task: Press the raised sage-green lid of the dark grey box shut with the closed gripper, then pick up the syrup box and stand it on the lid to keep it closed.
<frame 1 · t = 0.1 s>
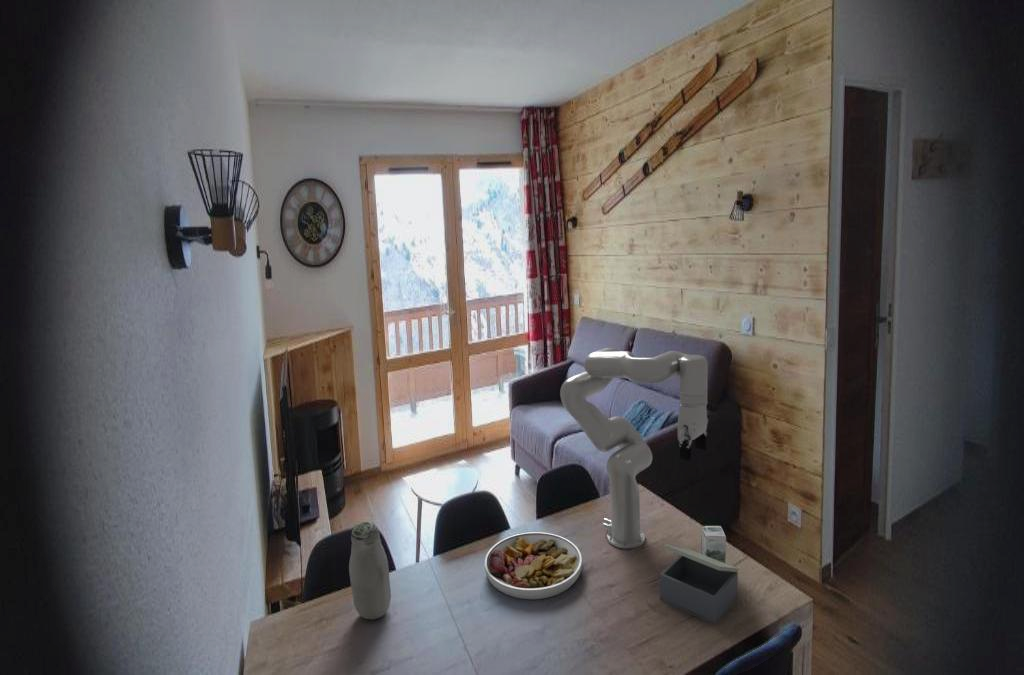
hand: (693, 454, 161), 37 cm above the table, tool pointing down, fingers open, 9 cm apart
storage box: (698, 598, 154), on the table
syrup box: (712, 574, 164), on the table
bowl: (533, 573, 171), on the table
lid: (700, 558, 153), point 12 cm above the table, hinge at 30.0°
grey rounded cylinder: (374, 615, 156), on the table
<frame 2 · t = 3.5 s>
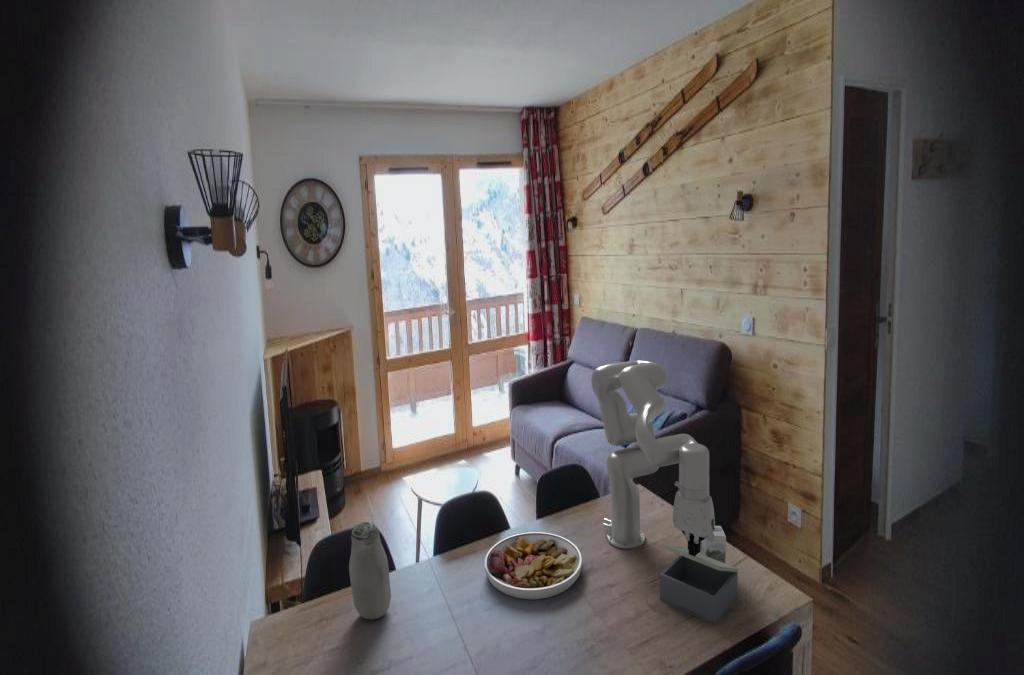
hand: (694, 553, 149), 16 cm above the table, tool pointing down, fingers closed
lid: (700, 558, 153), point 12 cm above the table, hinge at 29.9°, touching gripper
everything else where it was.
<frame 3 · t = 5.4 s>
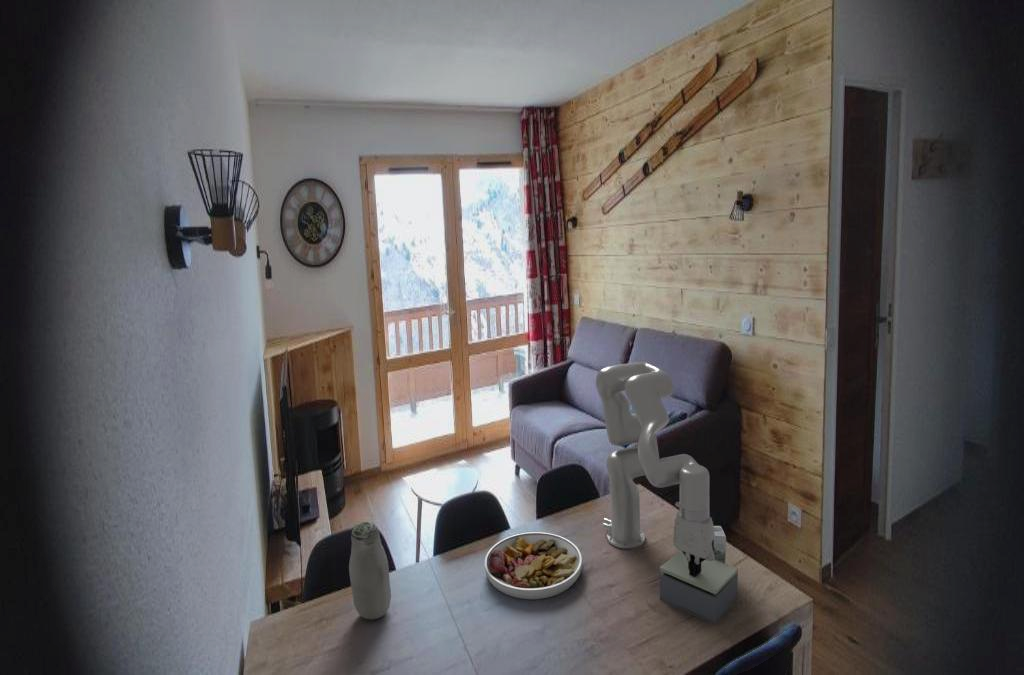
hand: (694, 573, 150), 10 cm above the table, tool pointing down, fingers closed
lid: (698, 569, 152), point 9 cm above the table, hinge at 4.1°, touching gripper
everything else where it was.
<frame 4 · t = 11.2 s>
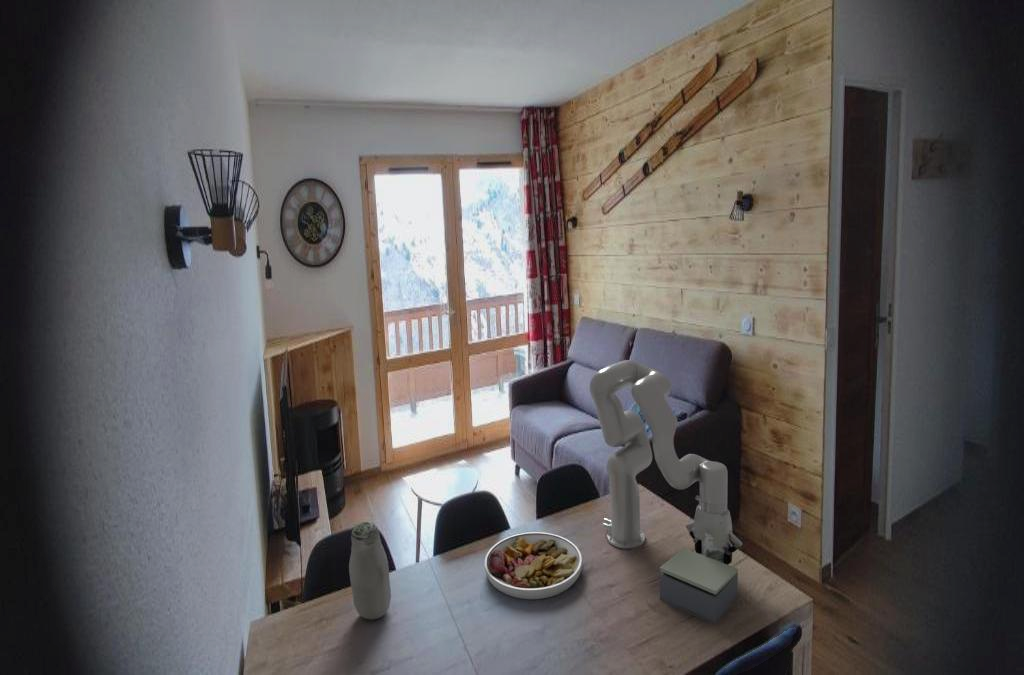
hand: (713, 558, 163), 5 cm above the table, tool pointing down, fingers closed on syrup box, 8 cm apart
syrup box: (712, 574, 164), on the table, touching gripper
lid: (698, 569, 152), point 9 cm above the table, hinge at 3.9°
everything else where it was.
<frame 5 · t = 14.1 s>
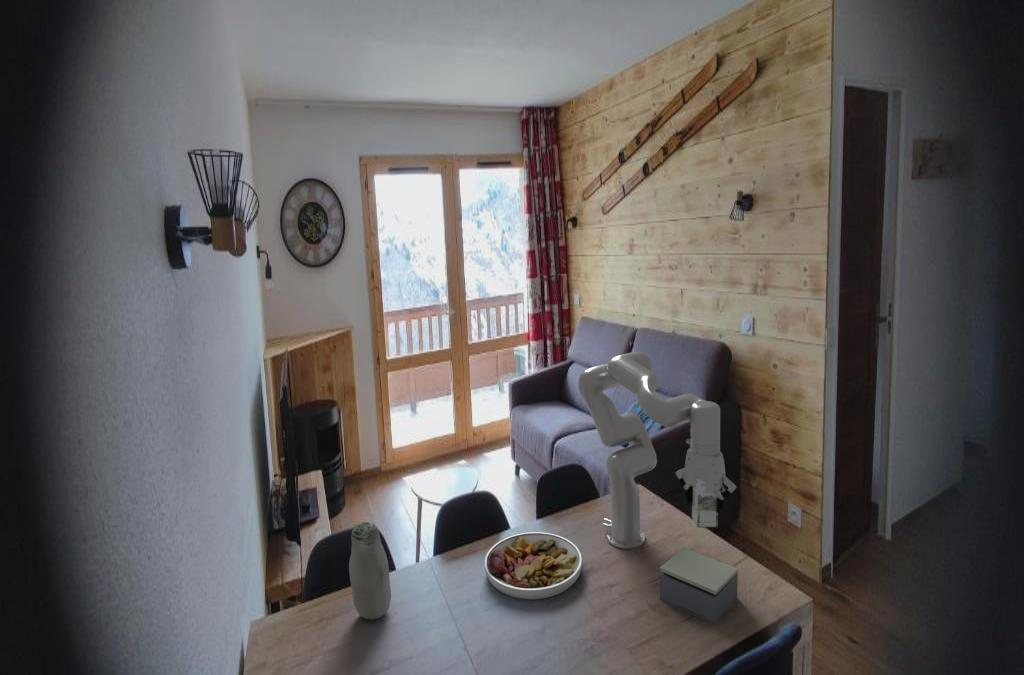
hand: (704, 505, 153), 26 cm above the table, tool pointing down, fingers closed on syrup box, 8 cm apart
syrup box: (704, 523, 154), point 21 cm above the table, touching gripper
everything else where it was.
when the fingers open (16 cm above the table, at t = 17.4 s): syrup box drops 1 cm, resting on lid.
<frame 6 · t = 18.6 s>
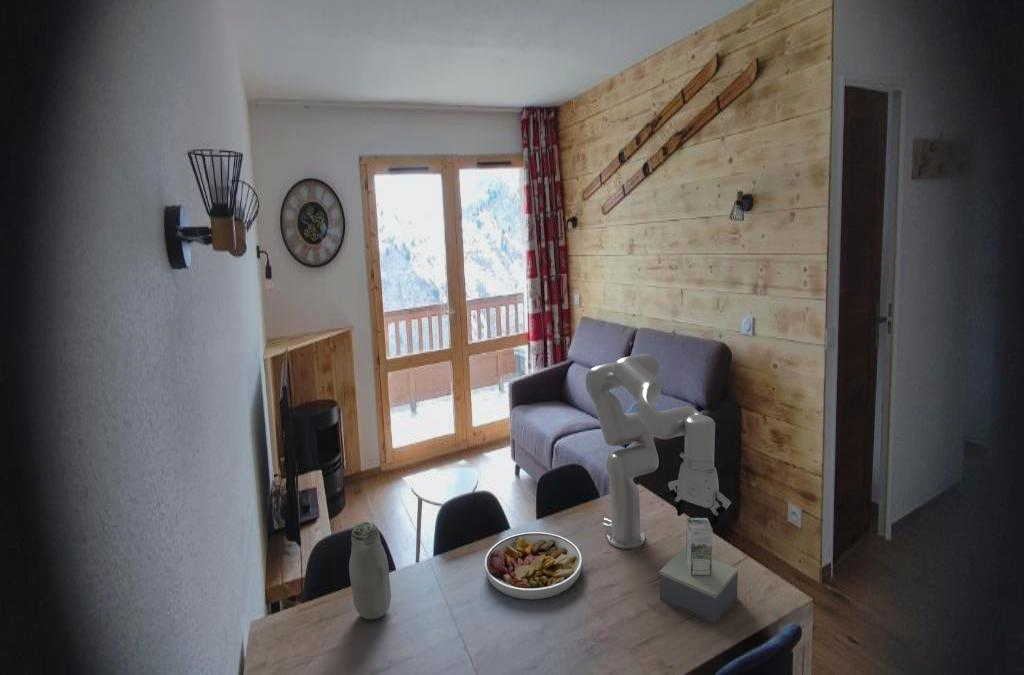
hand: (697, 519, 150), 24 cm above the table, tool pointing down, fingers open, 9 cm apart
syrup box: (698, 570, 152), point 9 cm above the table, touching lid
lid: (698, 571, 152), point 9 cm above the table, hinge at -0.3°, touching syrup box
everything else where it was.
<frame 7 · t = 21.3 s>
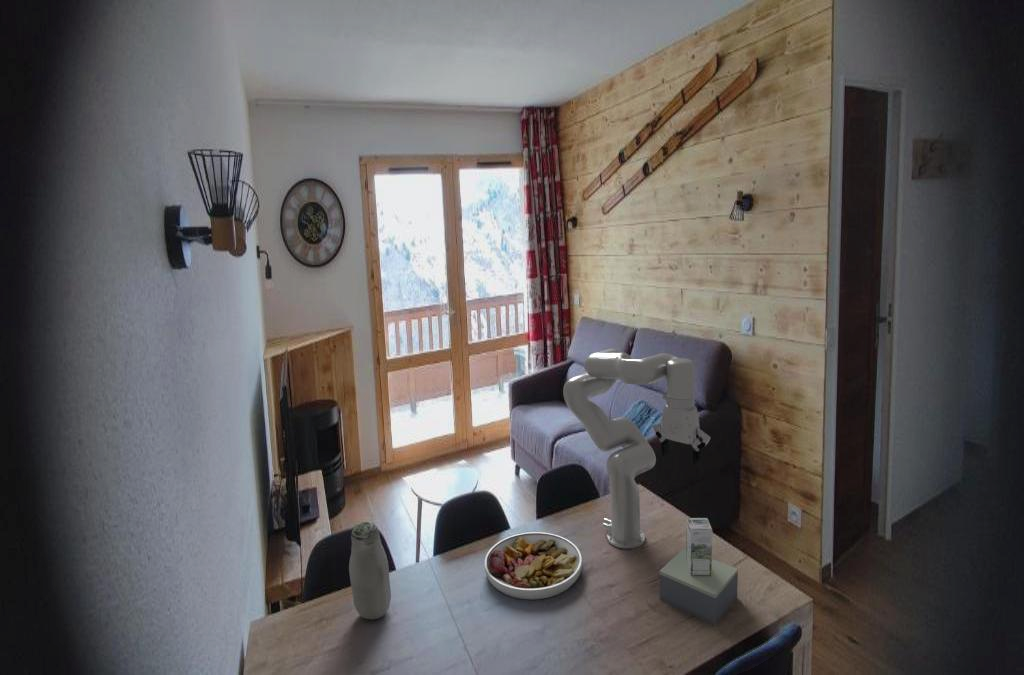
hand: (680, 458, 160), 36 cm above the table, tool pointing down, fingers open, 9 cm apart
nothing on the table moved.
at the end: lid at +0° (first picture: +30°); syrup box inside the target area on the storage box (0.1 cm from its centre), point 8.9 cm above the storage box's base; syrup box tilted 0° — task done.
